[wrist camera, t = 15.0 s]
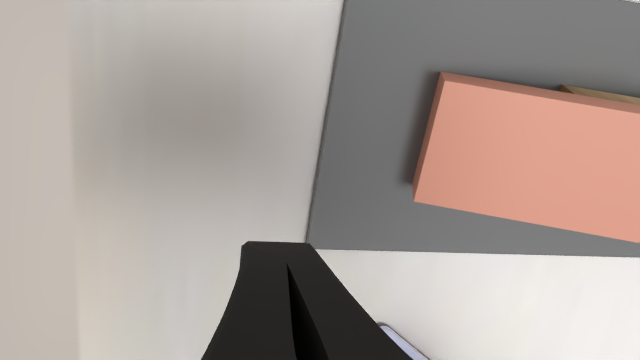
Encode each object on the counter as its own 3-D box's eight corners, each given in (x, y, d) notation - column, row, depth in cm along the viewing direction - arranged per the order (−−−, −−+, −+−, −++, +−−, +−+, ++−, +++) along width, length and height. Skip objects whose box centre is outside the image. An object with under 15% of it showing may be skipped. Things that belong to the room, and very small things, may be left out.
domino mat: (305, 243, 22) (307, 248, 22) (351, -44, 17) (354, -43, 17) (778, 257, 28) (786, 261, 28) (919, 48, 23) (930, 50, 23)
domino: (413, 201, 20) (639, 243, 19) (445, 80, 18) (699, 124, 17) (412, 184, 21) (621, 222, 21) (440, 71, 19) (674, 111, 19)
